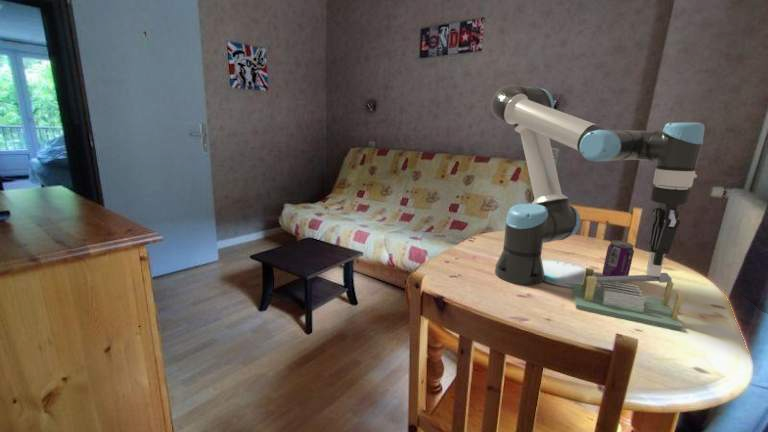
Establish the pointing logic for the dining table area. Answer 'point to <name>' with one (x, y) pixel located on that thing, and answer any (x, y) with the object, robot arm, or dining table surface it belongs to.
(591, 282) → the posts
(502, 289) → the dining table surface
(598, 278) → the strap
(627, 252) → the beverage can
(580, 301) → the socket board
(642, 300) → the block
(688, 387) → the dining table surface
